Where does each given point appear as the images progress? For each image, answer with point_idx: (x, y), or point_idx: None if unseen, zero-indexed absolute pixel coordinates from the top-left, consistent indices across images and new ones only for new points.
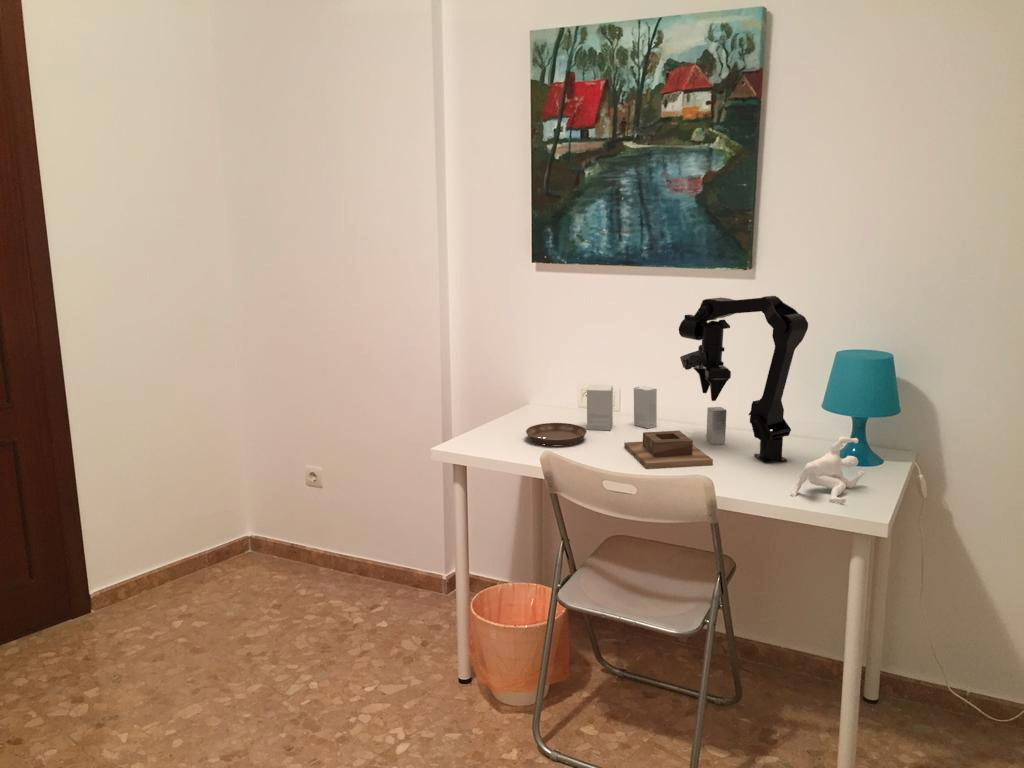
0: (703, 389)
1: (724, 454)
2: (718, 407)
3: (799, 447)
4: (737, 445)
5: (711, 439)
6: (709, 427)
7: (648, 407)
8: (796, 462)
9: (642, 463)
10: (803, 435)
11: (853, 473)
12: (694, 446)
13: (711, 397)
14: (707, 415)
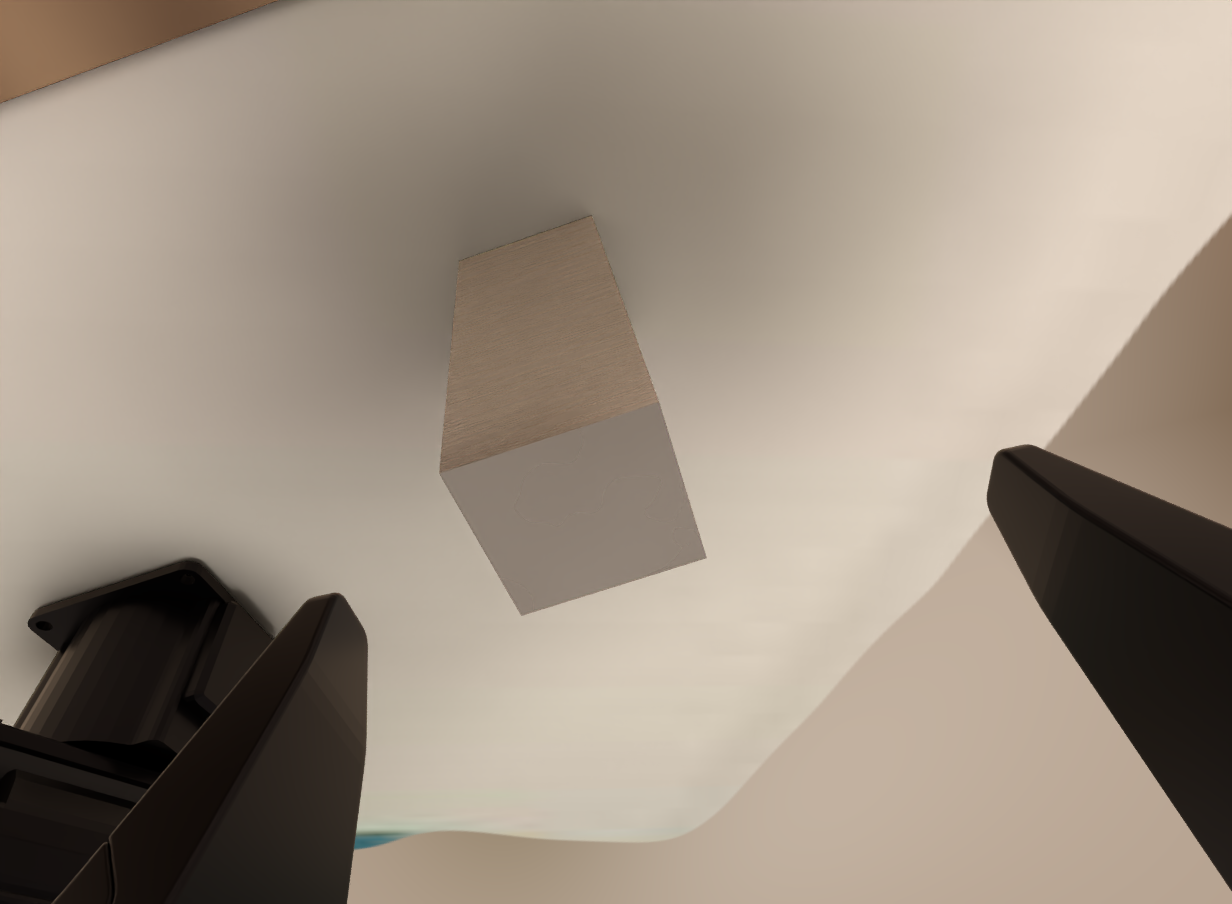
0: (1044, 505)
1: (154, 360)
2: (667, 534)
3: (520, 742)
4: None
5: (465, 279)
6: (533, 306)
7: None
8: None
9: None
10: (772, 750)
11: None
12: (69, 59)
13: (278, 648)
14: (627, 343)
